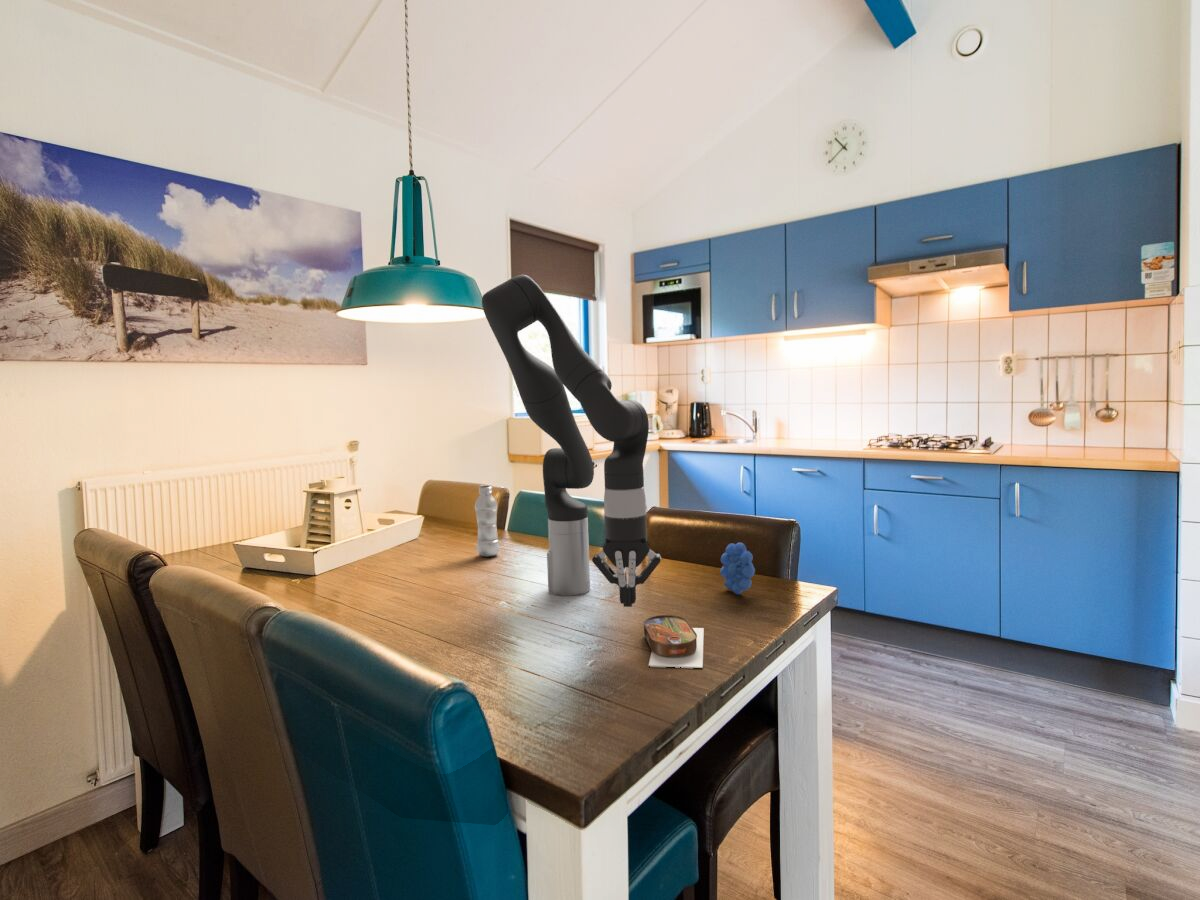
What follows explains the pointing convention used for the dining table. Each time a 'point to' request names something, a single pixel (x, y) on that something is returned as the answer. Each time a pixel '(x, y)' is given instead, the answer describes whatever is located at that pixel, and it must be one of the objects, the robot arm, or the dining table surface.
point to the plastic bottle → (487, 523)
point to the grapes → (737, 568)
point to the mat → (682, 661)
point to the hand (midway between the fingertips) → (628, 605)
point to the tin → (670, 635)
